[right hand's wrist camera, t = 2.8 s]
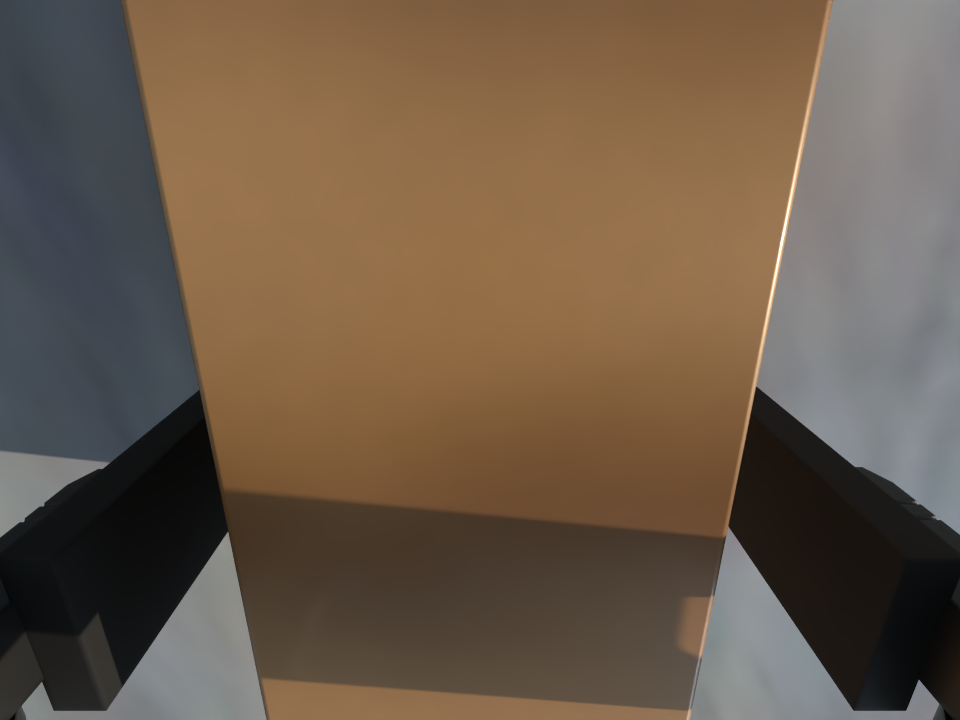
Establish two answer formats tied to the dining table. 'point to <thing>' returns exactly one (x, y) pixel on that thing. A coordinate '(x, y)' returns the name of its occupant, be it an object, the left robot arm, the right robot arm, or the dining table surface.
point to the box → (477, 329)
